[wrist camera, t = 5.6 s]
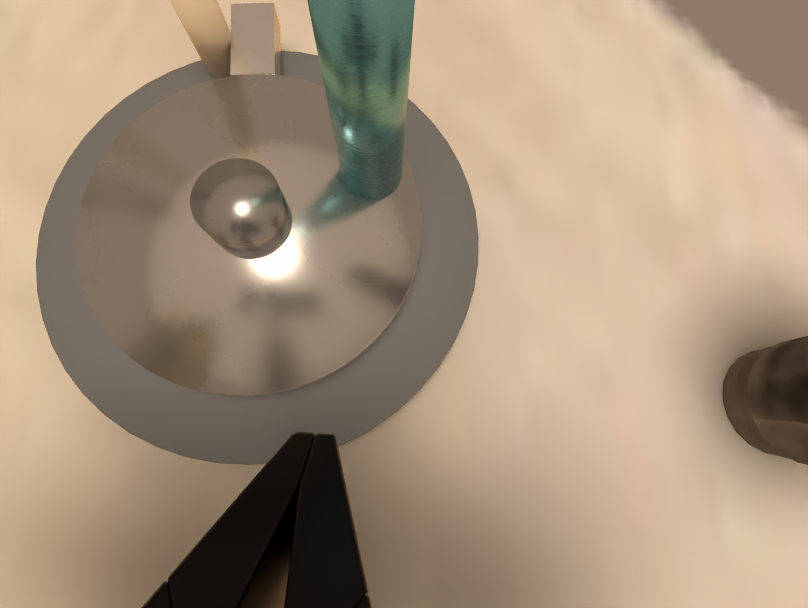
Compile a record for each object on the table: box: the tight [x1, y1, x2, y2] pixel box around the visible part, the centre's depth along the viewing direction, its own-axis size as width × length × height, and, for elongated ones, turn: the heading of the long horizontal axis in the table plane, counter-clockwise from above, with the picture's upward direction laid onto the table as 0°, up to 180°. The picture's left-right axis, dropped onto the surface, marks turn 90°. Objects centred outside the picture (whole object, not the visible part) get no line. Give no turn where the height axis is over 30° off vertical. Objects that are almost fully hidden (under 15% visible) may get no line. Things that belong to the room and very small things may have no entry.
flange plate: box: [75, 0, 422, 396], centre depth 13 cm, size 15×14×10 cm
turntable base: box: [36, 0, 478, 465], centre depth 17 cm, size 18×18×6 cm
